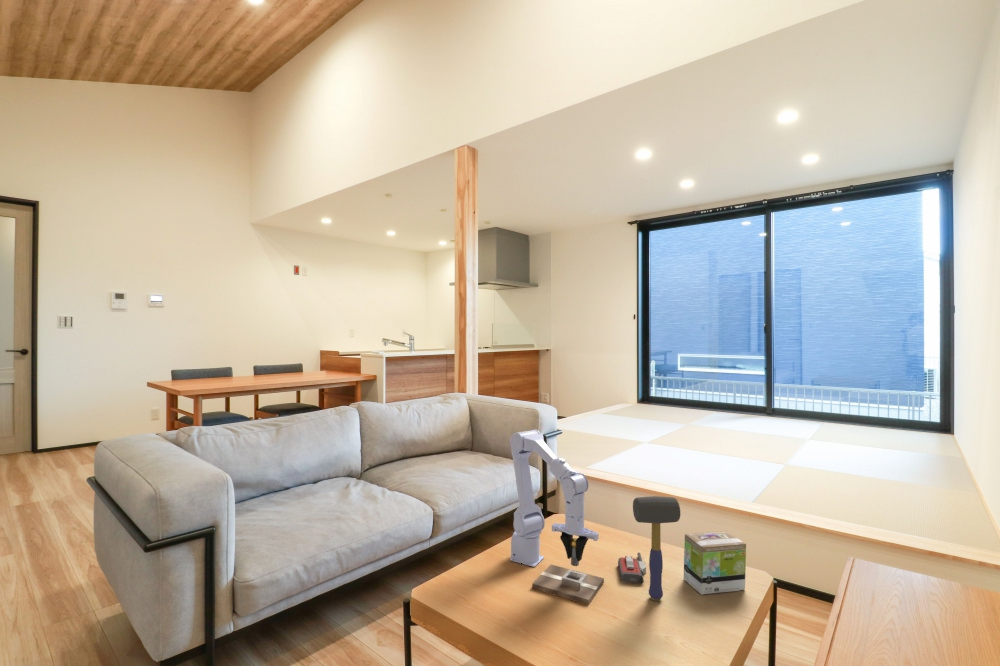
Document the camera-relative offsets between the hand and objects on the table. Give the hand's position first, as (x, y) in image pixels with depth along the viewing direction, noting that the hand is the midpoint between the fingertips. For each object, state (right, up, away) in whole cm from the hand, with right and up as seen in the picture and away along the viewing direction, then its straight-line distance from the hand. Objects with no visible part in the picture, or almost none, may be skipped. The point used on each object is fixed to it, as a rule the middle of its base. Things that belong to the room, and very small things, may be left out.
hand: (574, 558), depth 149 cm
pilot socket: (0, -7, 0) cm, 7 cm away
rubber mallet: (+23, -9, -6) cm, 25 cm away
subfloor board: (-2, -9, +1) cm, 9 cm away
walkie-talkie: (+21, -9, +11) cm, 25 cm away
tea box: (+44, -9, +2) cm, 45 cm away
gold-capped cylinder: (0, -2, 0) cm, 2 cm away
